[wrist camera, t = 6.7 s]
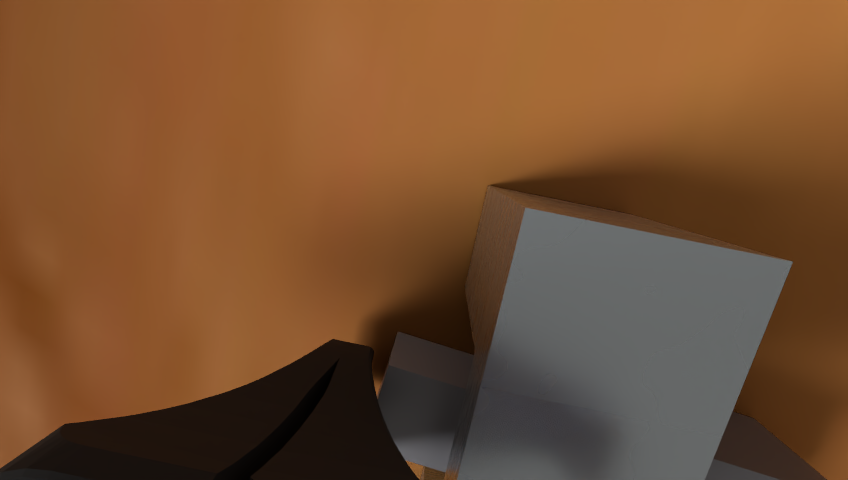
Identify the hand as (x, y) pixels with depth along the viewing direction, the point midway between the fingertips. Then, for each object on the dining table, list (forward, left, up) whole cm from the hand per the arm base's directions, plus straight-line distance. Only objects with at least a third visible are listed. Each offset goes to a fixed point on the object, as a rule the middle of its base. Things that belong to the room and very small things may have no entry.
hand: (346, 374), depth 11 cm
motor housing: (+4, -2, -1) cm, 5 cm away
